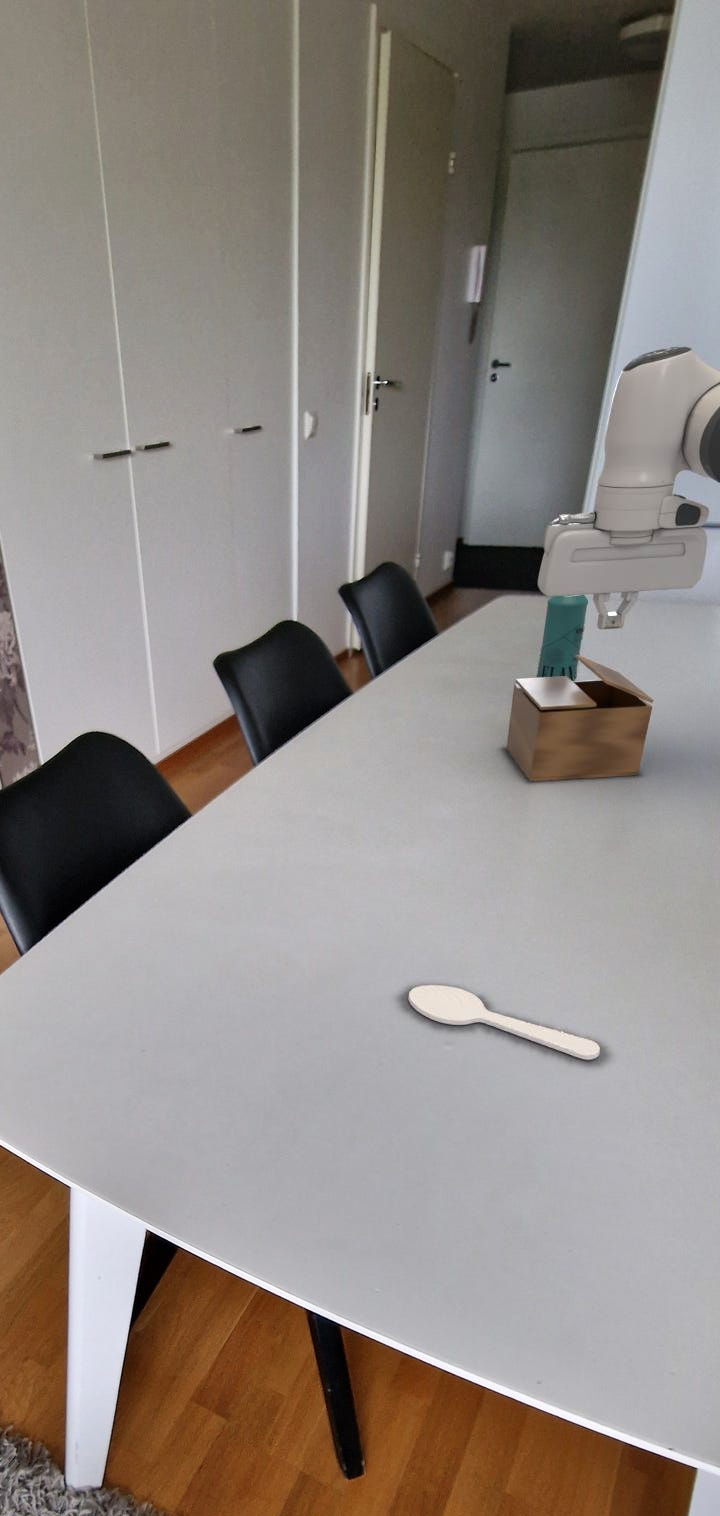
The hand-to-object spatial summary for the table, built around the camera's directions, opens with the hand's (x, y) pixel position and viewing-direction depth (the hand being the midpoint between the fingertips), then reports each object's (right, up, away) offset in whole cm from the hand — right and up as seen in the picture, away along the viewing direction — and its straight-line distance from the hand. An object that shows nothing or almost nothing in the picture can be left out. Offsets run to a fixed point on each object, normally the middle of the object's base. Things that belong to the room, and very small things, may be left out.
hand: (609, 628), depth 123 cm
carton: (-1, -15, +11) cm, 18 cm away
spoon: (-26, -53, -39) cm, 71 cm away
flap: (+2, -5, +4) cm, 7 cm away
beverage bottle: (+4, +2, +34) cm, 34 cm away
